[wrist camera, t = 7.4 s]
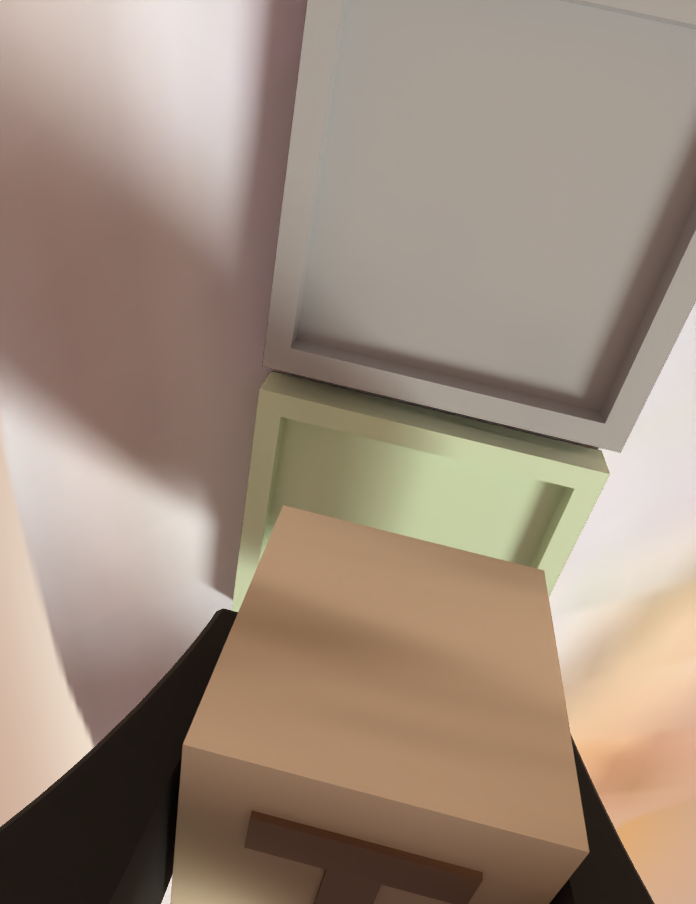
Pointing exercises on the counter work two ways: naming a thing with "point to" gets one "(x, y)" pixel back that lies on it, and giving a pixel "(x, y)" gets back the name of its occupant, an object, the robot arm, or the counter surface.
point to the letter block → (380, 732)
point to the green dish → (413, 476)
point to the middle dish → (491, 207)
